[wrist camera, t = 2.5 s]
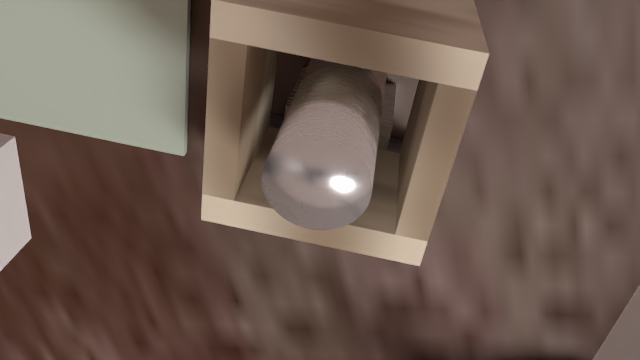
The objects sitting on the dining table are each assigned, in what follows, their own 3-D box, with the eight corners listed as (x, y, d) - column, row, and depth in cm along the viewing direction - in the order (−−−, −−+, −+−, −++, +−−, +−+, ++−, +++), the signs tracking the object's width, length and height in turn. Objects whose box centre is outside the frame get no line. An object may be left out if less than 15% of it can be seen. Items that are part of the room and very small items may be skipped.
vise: (247, 164, 28) (162, 339, 18) (292, -303, 18) (161, -423, 9) (412, 198, 27) (408, 393, 18) (546, -260, 18) (681, -336, 9)
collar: (241, 143, 22) (200, 219, 18) (258, -43, 19) (211, -2, 14) (419, 180, 22) (419, 266, 18) (473, -2, 18) (489, 54, 14)
